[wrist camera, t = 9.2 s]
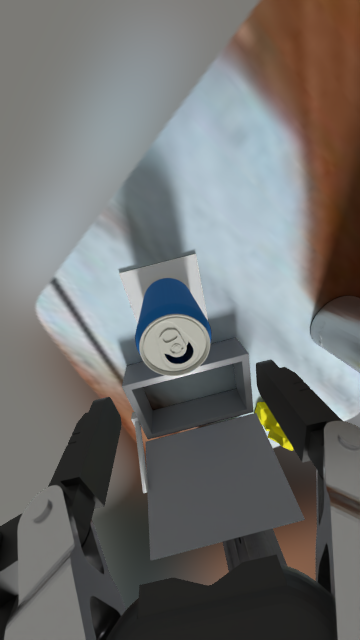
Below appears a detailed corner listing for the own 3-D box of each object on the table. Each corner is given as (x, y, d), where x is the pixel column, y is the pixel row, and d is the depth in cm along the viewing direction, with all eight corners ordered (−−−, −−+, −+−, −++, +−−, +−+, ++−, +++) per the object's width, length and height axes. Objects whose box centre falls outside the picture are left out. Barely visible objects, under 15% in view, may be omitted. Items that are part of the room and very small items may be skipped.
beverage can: (158, 329, 27) (159, 391, 16) (134, 291, 24) (116, 334, 13) (198, 309, 26) (227, 359, 16) (178, 267, 24) (195, 293, 13)
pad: (195, 253, 24) (196, 253, 23) (207, 321, 28) (208, 323, 28) (119, 272, 24) (119, 273, 23) (143, 338, 28) (143, 339, 27)
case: (237, 333, 29) (317, 431, 15) (245, 407, 37) (304, 522, 22) (119, 364, 29) (80, 493, 14) (150, 432, 36) (146, 564, 22)
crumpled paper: (287, 391, 36) (318, 429, 29) (277, 420, 40) (303, 459, 33) (259, 393, 36) (284, 432, 29) (251, 422, 39) (272, 463, 32)
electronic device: (197, 437, 39) (232, 613, 21) (221, 423, 38) (280, 595, 20) (218, 456, 42) (264, 620, 24) (241, 444, 41) (306, 606, 23)
